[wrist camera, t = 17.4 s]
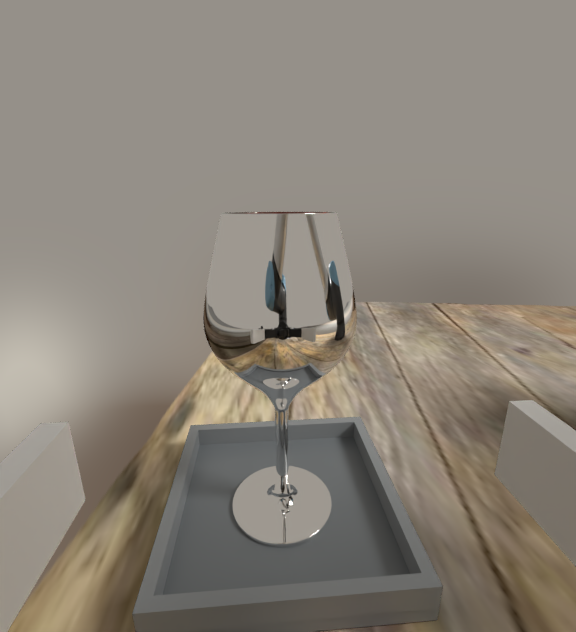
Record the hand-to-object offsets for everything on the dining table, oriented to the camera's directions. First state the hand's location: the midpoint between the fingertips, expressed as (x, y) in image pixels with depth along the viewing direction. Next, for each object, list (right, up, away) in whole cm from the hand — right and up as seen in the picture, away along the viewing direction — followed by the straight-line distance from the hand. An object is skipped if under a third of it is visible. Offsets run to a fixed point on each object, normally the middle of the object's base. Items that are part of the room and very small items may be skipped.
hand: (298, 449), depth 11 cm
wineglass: (-1, -8, +12) cm, 15 cm away
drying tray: (-1, -9, +12) cm, 15 cm away
